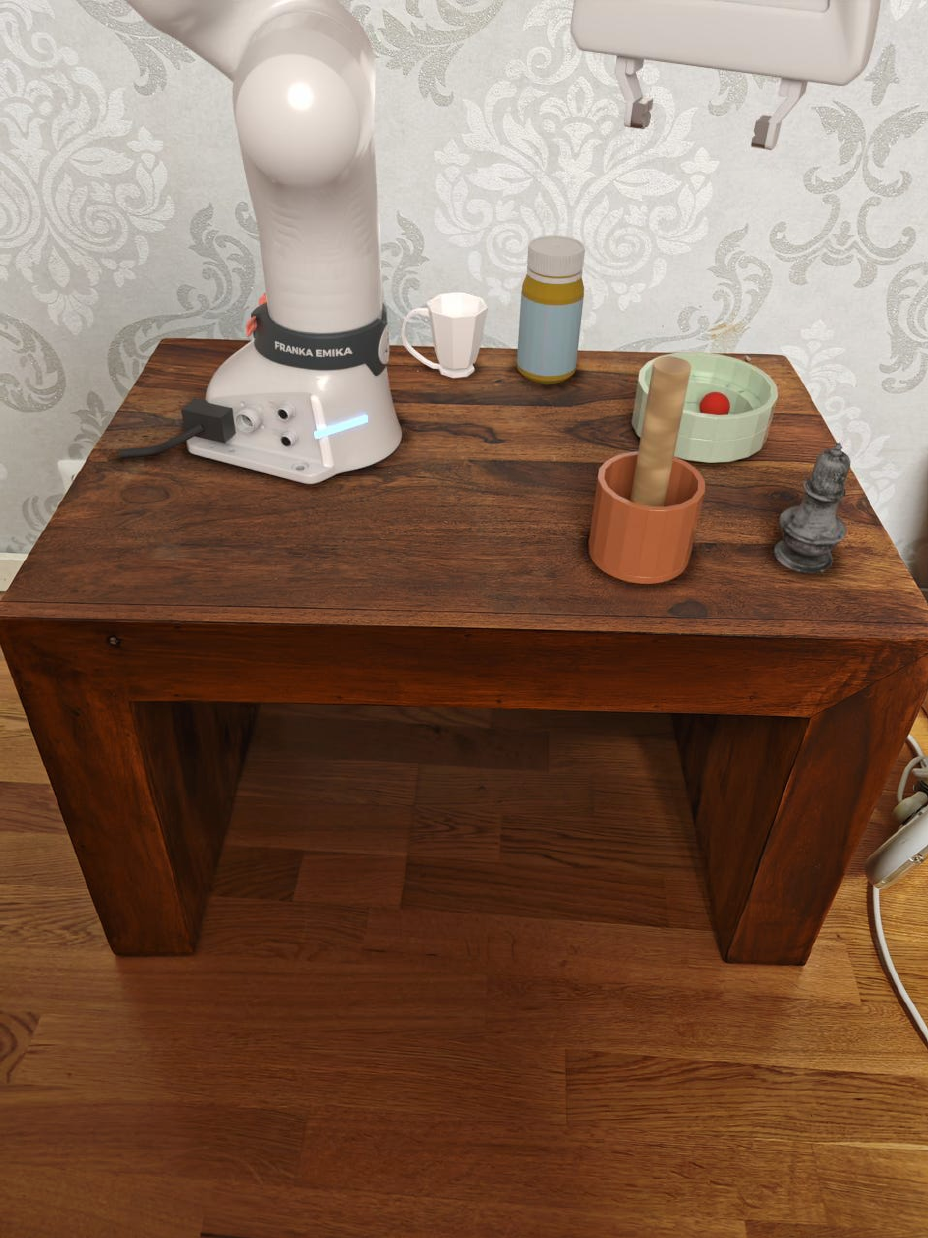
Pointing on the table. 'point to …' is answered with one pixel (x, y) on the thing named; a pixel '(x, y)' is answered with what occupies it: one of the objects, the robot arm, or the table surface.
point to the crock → (644, 523)
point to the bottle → (551, 309)
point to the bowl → (717, 433)
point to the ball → (715, 404)
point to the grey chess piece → (815, 516)
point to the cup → (453, 332)
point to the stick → (660, 430)
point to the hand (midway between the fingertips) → (698, 136)
